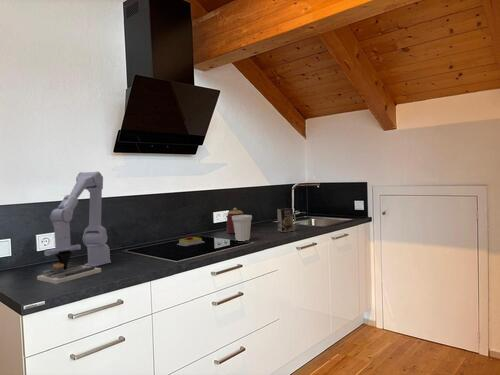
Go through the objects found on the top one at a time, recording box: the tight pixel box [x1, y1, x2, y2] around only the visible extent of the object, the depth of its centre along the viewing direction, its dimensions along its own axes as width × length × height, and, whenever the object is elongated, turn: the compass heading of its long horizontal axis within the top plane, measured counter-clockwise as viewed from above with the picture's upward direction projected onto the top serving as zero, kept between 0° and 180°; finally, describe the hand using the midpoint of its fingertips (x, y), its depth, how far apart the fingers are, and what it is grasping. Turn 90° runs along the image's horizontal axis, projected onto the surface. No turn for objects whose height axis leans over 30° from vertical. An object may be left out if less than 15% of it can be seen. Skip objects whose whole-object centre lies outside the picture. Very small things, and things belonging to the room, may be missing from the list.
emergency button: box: [176, 236, 205, 247], centre depth 221 cm, size 9×4×15 cm
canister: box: [225, 207, 244, 234], centre depth 257 cm, size 13×13×18 cm
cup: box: [232, 214, 253, 241], centre depth 222 cm, size 12×12×15 cm
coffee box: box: [276, 208, 294, 232], centre depth 251 cm, size 9×6×16 cm
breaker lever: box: [53, 262, 64, 275], centre depth 150 cm, size 3×3×4 cm
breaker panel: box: [36, 263, 102, 285], centre depth 155 cm, size 20×14×3 cm
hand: (64, 269), depth 152 cm, fingers closed
